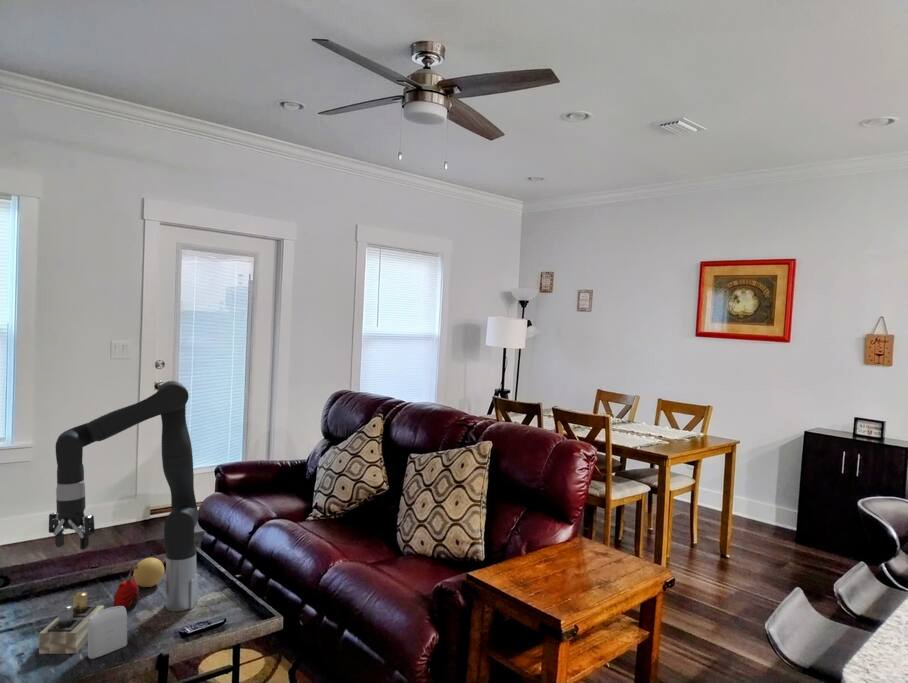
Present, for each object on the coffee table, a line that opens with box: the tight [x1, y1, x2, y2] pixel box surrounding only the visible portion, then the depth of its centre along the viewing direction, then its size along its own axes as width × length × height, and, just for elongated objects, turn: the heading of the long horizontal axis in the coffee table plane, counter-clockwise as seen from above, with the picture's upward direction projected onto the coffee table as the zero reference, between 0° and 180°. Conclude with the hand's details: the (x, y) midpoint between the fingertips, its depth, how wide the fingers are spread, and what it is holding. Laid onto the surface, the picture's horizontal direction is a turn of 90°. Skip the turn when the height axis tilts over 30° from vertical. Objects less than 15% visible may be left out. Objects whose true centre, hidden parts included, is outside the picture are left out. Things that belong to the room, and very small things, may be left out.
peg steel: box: [57, 603, 73, 628], centre depth 176 cm, size 4×4×6 cm
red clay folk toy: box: [112, 563, 140, 611], centre depth 199 cm, size 8×7×15 cm
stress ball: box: [132, 557, 165, 588], centre depth 214 cm, size 10×10×10 cm
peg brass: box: [72, 591, 88, 614], centre depth 184 cm, size 4×4×6 cm
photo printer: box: [87, 606, 128, 660], centre depth 174 cm, size 10×4×12 cm, turn 140°
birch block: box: [38, 604, 105, 655], centre depth 180 cm, size 10×16×7 cm, turn 5°
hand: (72, 547), depth 186 cm, fingers open, 8 cm apart
